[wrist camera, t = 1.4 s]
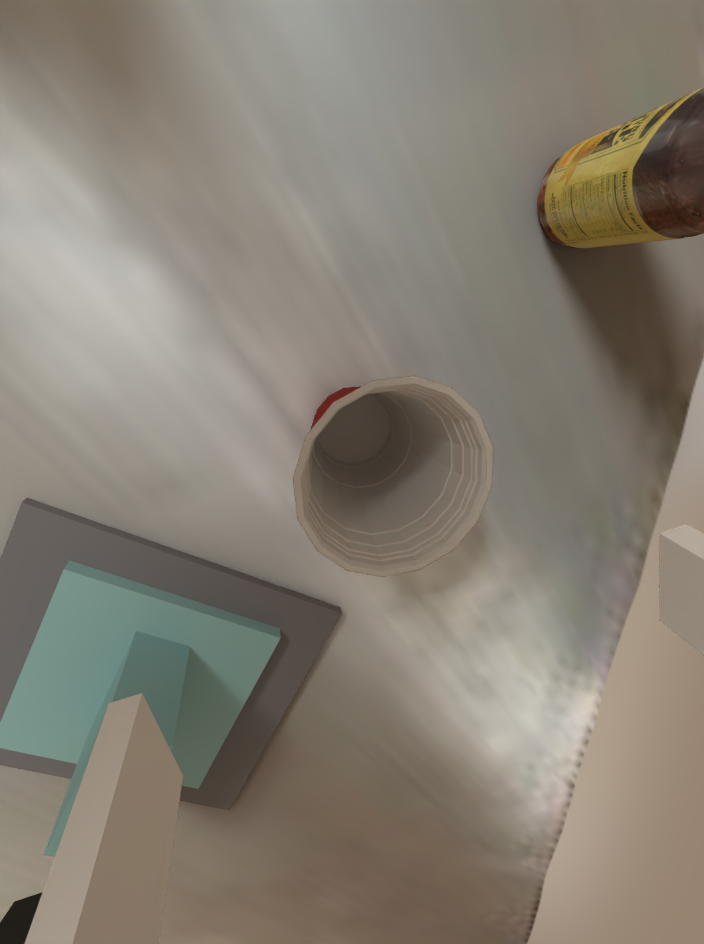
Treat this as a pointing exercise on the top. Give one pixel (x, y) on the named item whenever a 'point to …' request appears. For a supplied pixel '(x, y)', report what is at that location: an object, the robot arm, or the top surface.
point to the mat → (119, 553)
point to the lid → (132, 673)
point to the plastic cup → (392, 475)
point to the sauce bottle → (631, 181)
